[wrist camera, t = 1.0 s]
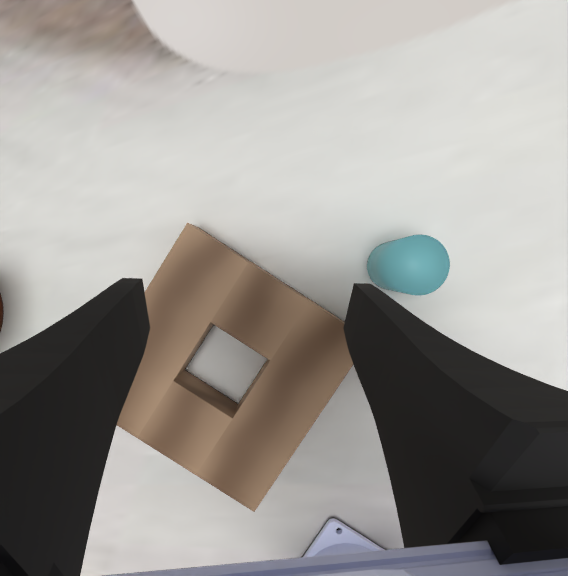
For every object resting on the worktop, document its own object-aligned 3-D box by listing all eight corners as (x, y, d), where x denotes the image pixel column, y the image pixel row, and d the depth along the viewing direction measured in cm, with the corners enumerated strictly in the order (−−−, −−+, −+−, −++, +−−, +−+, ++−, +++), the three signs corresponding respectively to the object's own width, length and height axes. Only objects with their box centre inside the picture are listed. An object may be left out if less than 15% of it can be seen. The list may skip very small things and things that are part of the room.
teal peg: (423, 258, 25) (461, 256, 19) (397, 298, 25) (427, 306, 20) (384, 232, 25) (410, 222, 19) (358, 272, 25) (376, 274, 20)
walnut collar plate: (361, 332, 25) (369, 340, 23) (257, 488, 26) (254, 511, 24) (197, 227, 25) (187, 222, 23) (98, 387, 26) (78, 400, 24)
